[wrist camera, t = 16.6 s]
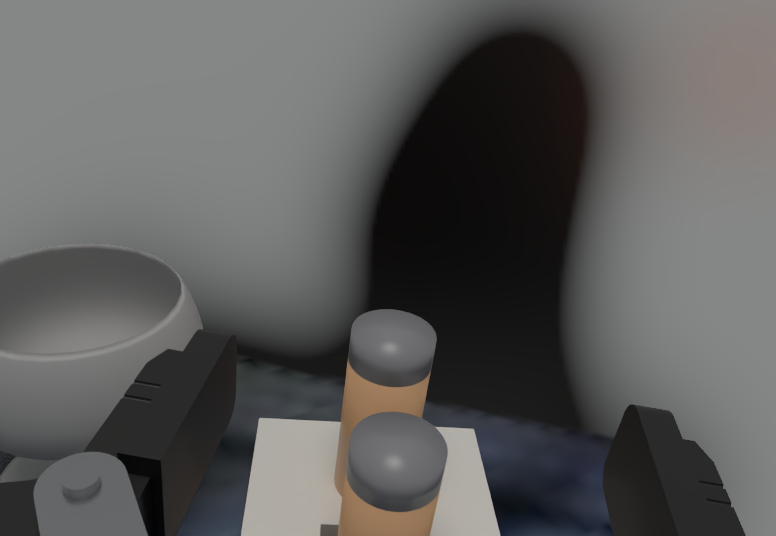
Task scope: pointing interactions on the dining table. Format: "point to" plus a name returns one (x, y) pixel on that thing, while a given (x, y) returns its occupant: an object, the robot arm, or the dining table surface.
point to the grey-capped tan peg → (392, 476)
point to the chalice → (79, 343)
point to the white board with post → (331, 440)
